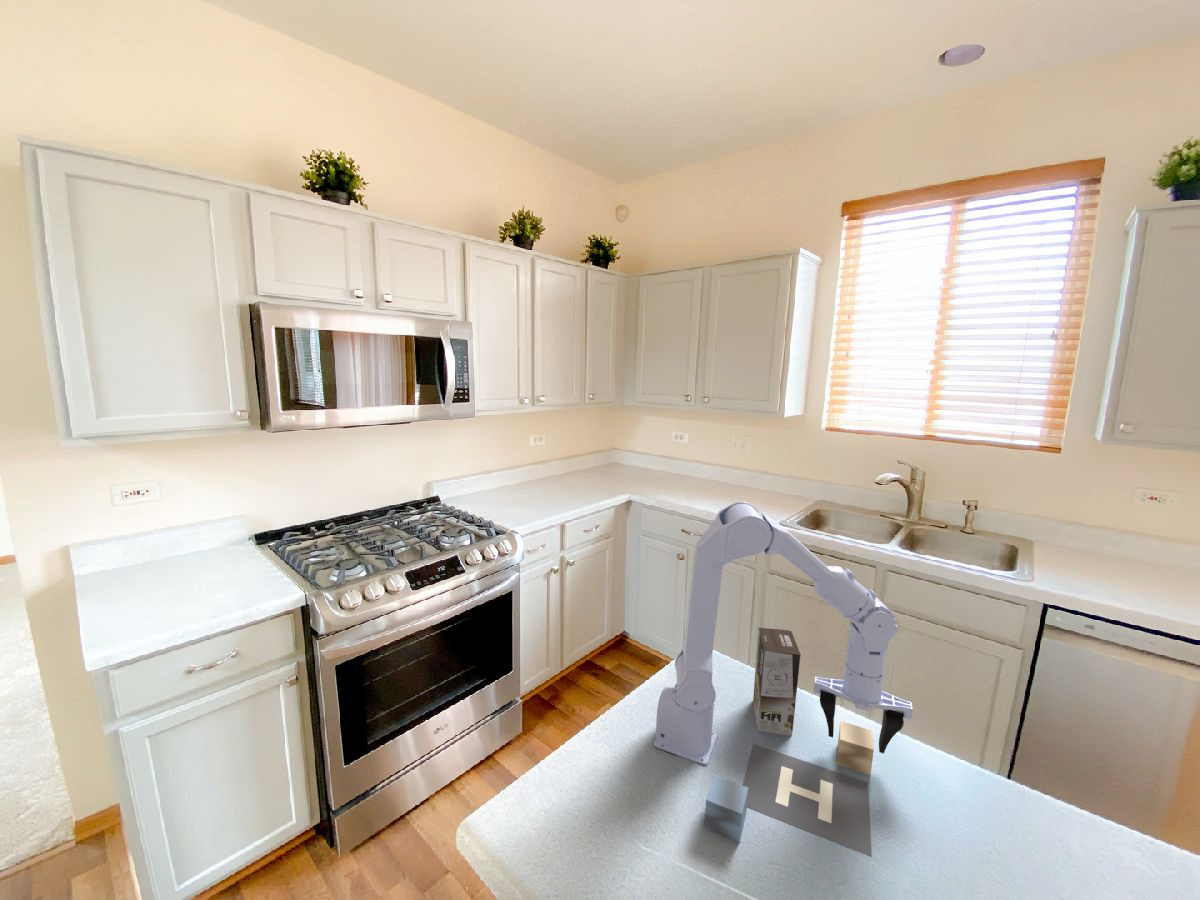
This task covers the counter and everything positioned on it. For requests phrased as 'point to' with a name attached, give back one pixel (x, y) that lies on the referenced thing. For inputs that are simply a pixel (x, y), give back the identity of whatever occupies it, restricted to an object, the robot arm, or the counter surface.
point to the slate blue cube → (726, 808)
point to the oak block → (855, 748)
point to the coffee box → (776, 681)
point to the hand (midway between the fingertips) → (855, 741)
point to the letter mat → (809, 798)
